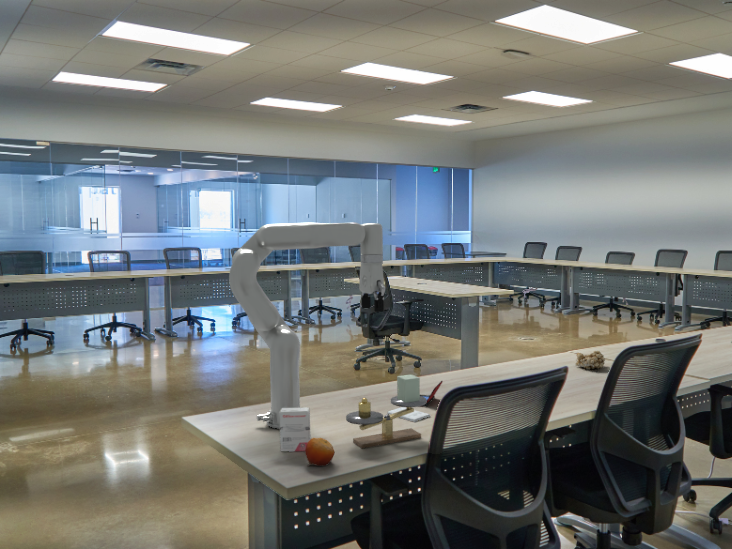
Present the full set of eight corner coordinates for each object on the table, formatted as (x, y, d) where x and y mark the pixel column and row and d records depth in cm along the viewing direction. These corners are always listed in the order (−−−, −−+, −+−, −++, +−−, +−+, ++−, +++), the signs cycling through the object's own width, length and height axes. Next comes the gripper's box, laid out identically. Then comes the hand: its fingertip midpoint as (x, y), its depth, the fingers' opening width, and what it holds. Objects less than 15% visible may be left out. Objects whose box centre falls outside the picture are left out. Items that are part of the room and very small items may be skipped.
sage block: (405, 402, 182) (405, 379, 181) (397, 398, 186) (397, 376, 186) (419, 400, 184) (419, 377, 183) (411, 396, 188) (411, 374, 188)
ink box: (311, 445, 179) (310, 406, 178) (310, 451, 174) (309, 411, 173) (281, 446, 178) (281, 406, 178) (279, 452, 174) (279, 411, 173)
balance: (356, 453, 172) (355, 405, 171) (340, 441, 182) (339, 395, 181) (433, 438, 183) (433, 393, 182) (415, 428, 193) (414, 385, 192)
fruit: (298, 454, 168) (313, 429, 168) (323, 467, 169) (337, 442, 169) (297, 465, 160) (313, 439, 160) (323, 479, 161) (338, 453, 160)
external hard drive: (403, 411, 214) (430, 418, 205) (387, 416, 209) (414, 423, 200) (403, 406, 214) (430, 413, 205) (387, 411, 208) (414, 419, 200)
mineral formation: (604, 365, 279) (611, 370, 265) (574, 369, 282) (579, 374, 267) (601, 348, 280) (607, 352, 265) (571, 352, 282) (576, 356, 267)
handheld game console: (415, 397, 231) (415, 377, 231) (443, 399, 227) (443, 380, 227) (406, 405, 219) (405, 385, 219) (435, 408, 216) (435, 388, 215)
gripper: (351, 259, 211) (351, 308, 212) (373, 261, 195) (374, 313, 197) (370, 258, 214) (370, 306, 215) (393, 260, 199) (394, 312, 200)
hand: (372, 309), depth 206 cm, fingers open, 9 cm apart
